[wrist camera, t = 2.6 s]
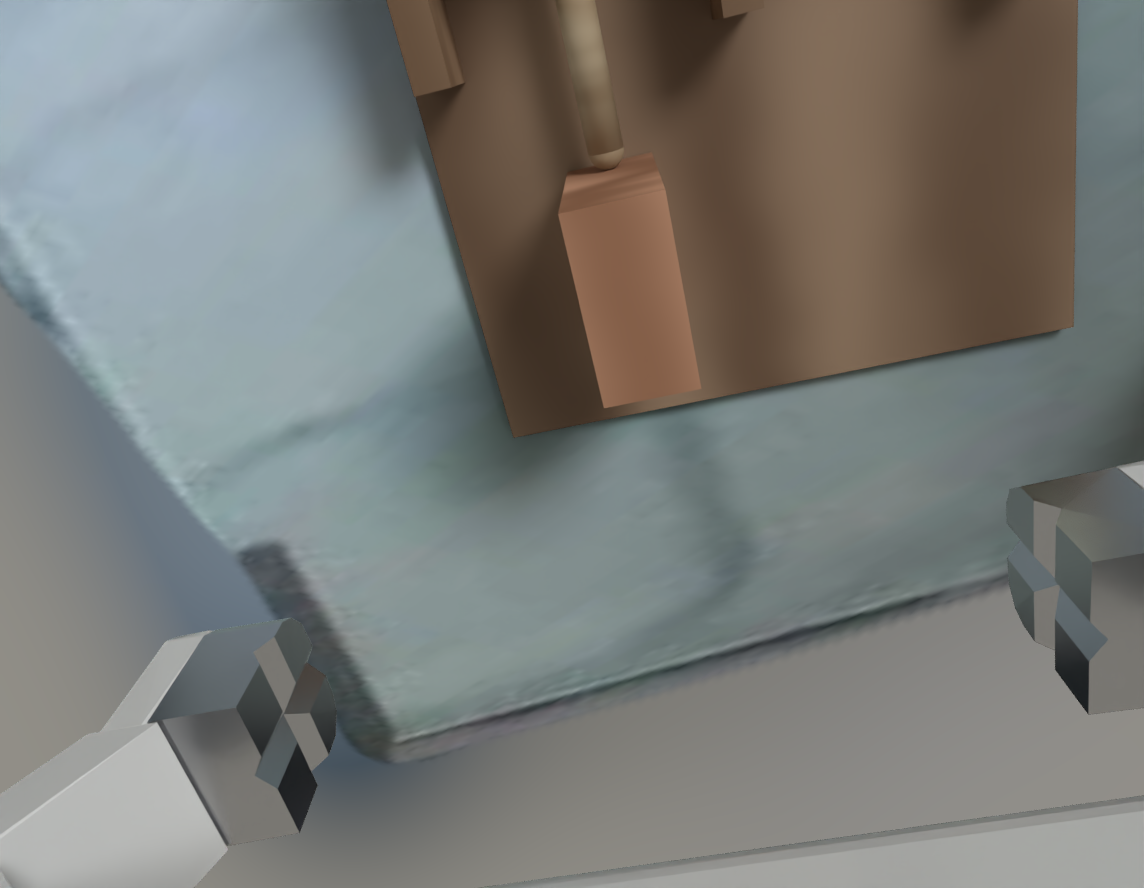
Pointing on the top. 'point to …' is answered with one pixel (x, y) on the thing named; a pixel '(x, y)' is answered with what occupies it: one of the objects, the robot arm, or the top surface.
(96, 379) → the top surface
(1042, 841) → the robot arm
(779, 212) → the walnut rack
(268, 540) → the top surface
